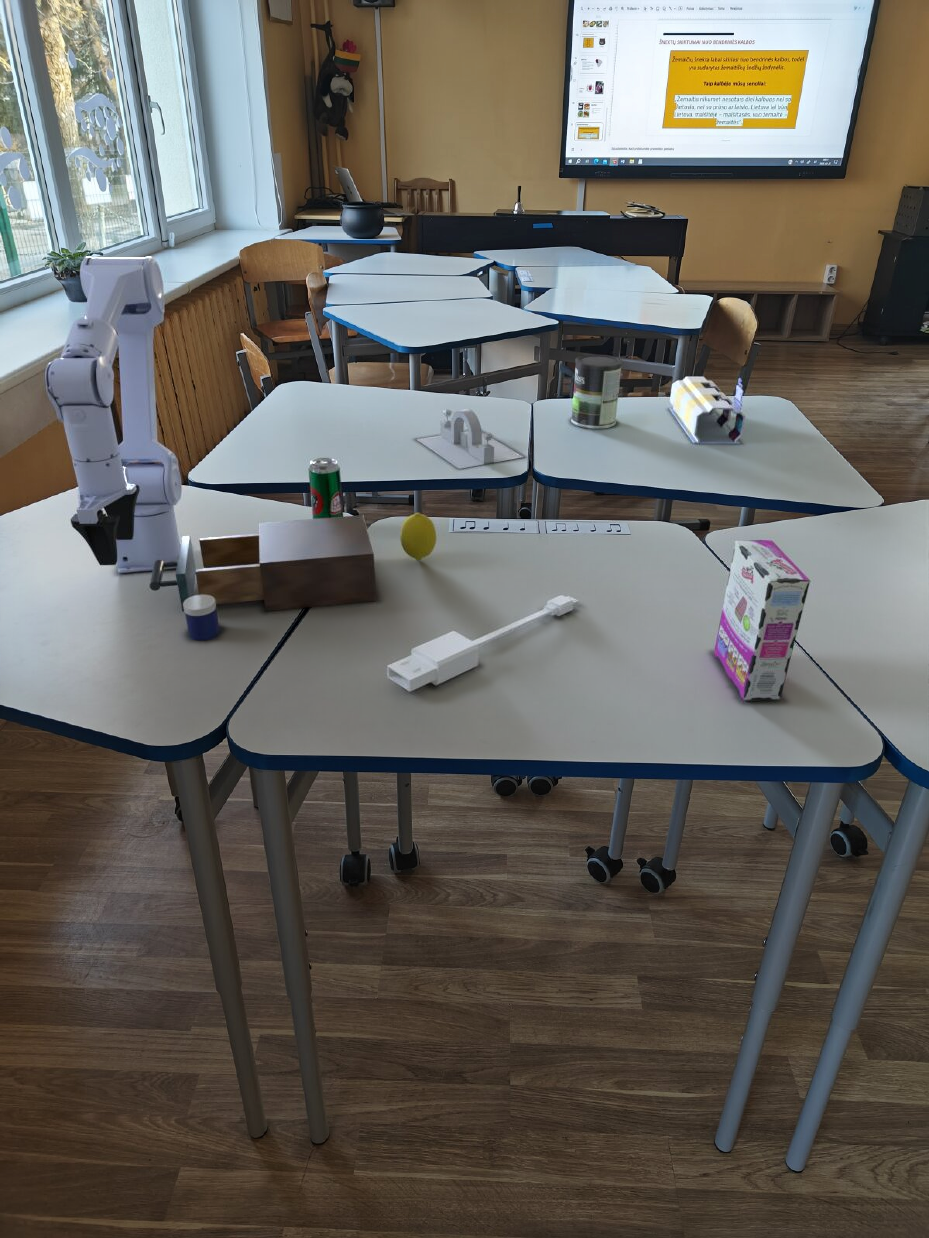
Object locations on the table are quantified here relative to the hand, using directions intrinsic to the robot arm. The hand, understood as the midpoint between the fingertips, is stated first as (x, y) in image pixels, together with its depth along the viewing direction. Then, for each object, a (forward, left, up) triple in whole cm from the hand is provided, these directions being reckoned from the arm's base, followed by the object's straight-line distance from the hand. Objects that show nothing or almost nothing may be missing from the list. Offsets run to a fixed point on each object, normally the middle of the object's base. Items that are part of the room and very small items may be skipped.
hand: (117, 551), depth 115 cm
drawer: (+13, +3, -9) cm, 15 cm away
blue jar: (+10, -8, -9) cm, 16 cm away
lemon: (+42, +8, -10) cm, 44 cm away
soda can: (+29, +22, -10) cm, 38 cm away
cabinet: (+26, +3, -9) cm, 28 cm away
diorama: (+117, +63, -10) cm, 133 cm away
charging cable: (+47, -19, -10) cm, 52 cm away
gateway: (+61, +58, -10) cm, 85 cm away
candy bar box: (+77, -32, -10) cm, 84 cm away
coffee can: (+93, +70, -10) cm, 117 cm away
